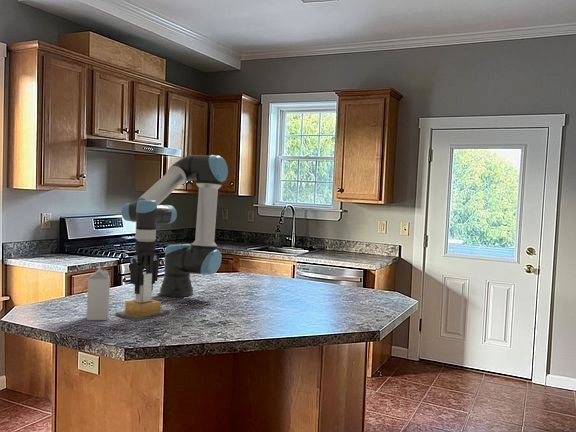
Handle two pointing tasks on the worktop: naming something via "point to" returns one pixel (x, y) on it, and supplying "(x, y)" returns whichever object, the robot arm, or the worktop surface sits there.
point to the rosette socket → (142, 310)
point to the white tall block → (146, 287)
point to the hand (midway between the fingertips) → (143, 301)
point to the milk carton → (98, 295)
